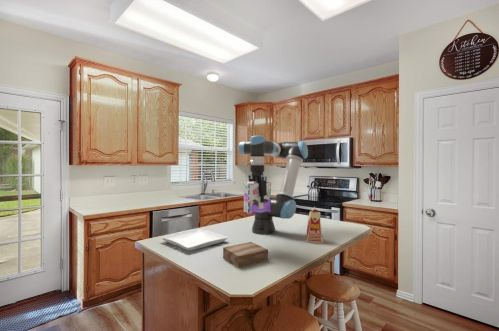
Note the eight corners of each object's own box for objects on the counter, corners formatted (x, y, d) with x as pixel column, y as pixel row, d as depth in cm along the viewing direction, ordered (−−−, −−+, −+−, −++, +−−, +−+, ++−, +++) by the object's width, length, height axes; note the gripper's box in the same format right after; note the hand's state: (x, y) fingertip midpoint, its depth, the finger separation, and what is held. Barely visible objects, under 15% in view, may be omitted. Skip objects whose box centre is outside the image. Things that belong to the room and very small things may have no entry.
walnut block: (223, 257, 125) (223, 247, 125) (251, 251, 134) (251, 241, 134) (238, 267, 114) (238, 256, 114) (268, 260, 123) (268, 249, 123)
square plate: (188, 255, 130) (188, 247, 130) (159, 243, 148) (160, 236, 148) (228, 242, 150) (228, 236, 150) (199, 233, 168) (199, 227, 168)
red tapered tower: (323, 243, 149) (323, 207, 149) (306, 242, 151) (306, 207, 151) (322, 238, 158) (322, 205, 158) (306, 237, 160) (306, 204, 160)
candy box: (248, 214, 137) (248, 182, 136) (243, 212, 142) (243, 181, 141) (271, 212, 143) (271, 181, 142) (265, 210, 148) (265, 180, 148)
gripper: (241, 164, 148) (241, 205, 148) (262, 165, 132) (262, 211, 132) (252, 164, 152) (252, 204, 152) (274, 164, 136) (273, 209, 137)
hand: (257, 207), depth 142 cm, fingers closed on candy box, 6 cm apart
